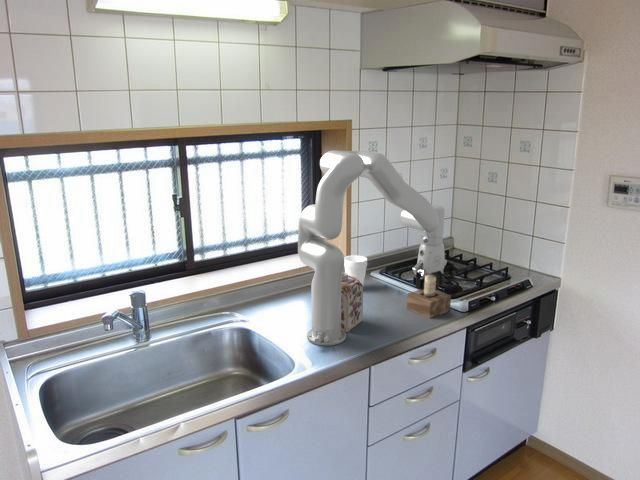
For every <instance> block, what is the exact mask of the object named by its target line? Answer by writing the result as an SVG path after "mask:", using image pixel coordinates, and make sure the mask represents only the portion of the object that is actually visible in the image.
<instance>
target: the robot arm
mask: <svg viewBox="0 0 640 480" xmlns="http://www.w3.org/2000/svg"><path fill="white" fill-rule="evenodd" d="M319 167H320V170H321V172H322V174H323V176H322V178H321V179H320V181H319V183H318V184H317V187H316V188H317V189H316V194H315V202H314V203H315V204H309V205H307V206H306V207H305V208H304V209H303V210H302V212H301V213H300V215H299V219H298V235H297V254H298V257H299V260H300V261H301V262H302V263H303V264H304V265H306V266H308V267H309V268H311V269H313V270H314V275H313V277H312V280H311V285H310V286H311V287H310V288H311V289H310V290H311V292H310V294H311V297H310V298H311V329H310V330H308V331H307V334H306V337H307V340H308V341H309V342H310V343H312V344H314V345H318V346H325V347H327V346H335V345H339V344H341V343H343V342H344V341H346V338H347V334H346V333H347V332H344V331H343V330H342V329H341V282H342V273H343V272H344V269H345V267H344V258H345V255H344V253H343V251H342V249H341V248H339V247H338V246H337V245H335V244H333V243H331V242H328V240H329V241H331V240H336V239H337V238H338V237H339V236H340V234H341V232H342V227H343V214H344V203H345V202H344V201H345V195H346V192H347V190H348V188H349V187H350V186H351V185H352V184H353V183H354V182H355V181H356V180H357V179H359V178H360V177H361V178H366V179H368V180H369V181H370V182H371V183H372V185H373V186H374V187H375V188H376V189H377V191H378V192H379V193H380V194H381V196H382V197H383V198H384V200H386V201H387V202H389V203H390V204H392V205H393V206H396V207H398V208H399V209H402V210H401V212H400V214H399V219H400V223H401V224H402V225H404V226H405V227H407V228H411V229H412V230H413V229H414V230H418V231H420V232H421V234H420V236H421V237H420V244H419V248H418V254H417V262H416V264H415V265H414V266H413V267H412V273H413V275H414V277H415V288H416V289H418V290H423V289H424V283H425V275H428V274H431V275H432V274H433V275H435V276H436V284H437V285H442V284H443V275H444V270H445V269H446V265H447V262H448V259H446V256H445V255H446V253H445V244H444V243H443V241H444V240H443V239H444V226H445V211H446V210H445V208H444V207H443V206H441V205H439V204H438V205H437V204H432V203H430V201H428V199H427V198H425V197H424V196H423V195H422V194H421V193H420V192H418V191H417V190H416V189H415V188H413V186H411V185H410V184H408V183H407V182H406V181H405V180H404V179H403V177H402V176H401V175H400V174H399V172H398V170H397V169H396V168H395V167H394V165H393V164H392V163H391V161H390V160H389V158H388V157H387V156H386V155H385V154H383V153H380V152H377V151H375V152H374V151H367V150H333V149H332V150H329V151H327V152H325V153H324V154H322V157H320V159H319ZM326 240H327V241H326Z"/></svg>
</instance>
